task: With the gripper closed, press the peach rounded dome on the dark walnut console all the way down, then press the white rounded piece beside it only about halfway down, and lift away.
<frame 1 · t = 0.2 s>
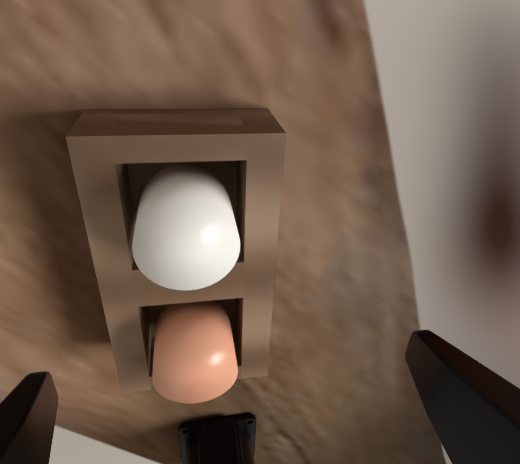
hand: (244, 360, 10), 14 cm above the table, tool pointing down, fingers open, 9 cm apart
white rounded piece: (186, 225, 18), point 5 cm above the table, slide at 0.0 cm
peach rounded dome: (194, 348, 22), point 5 cm above the table, slide at 0.0 cm
button console: (188, 242, 24), on the table
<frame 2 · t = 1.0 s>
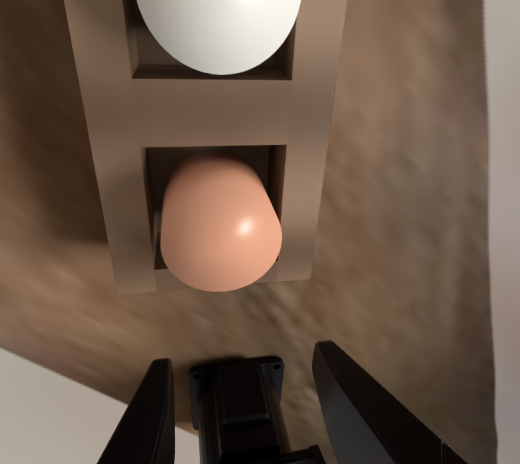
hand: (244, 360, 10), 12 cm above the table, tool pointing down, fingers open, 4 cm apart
peach rounded dome: (218, 218, 16), point 5 cm above the table, slide at 0.0 cm
button console: (207, 91, 18), on the table
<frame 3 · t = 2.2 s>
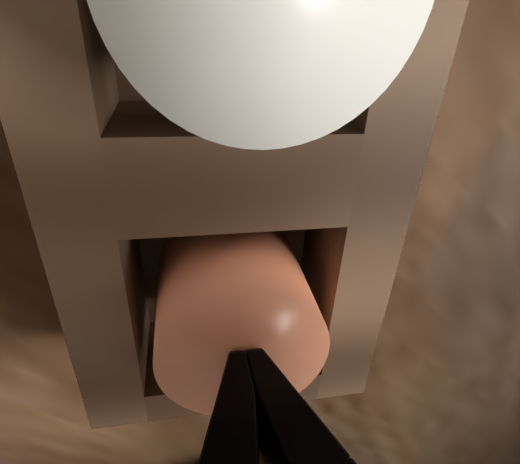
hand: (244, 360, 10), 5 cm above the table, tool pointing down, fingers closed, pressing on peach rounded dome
peach rounded dome: (234, 308, 11), point 4 cm above the table, slide at 1.2 cm, touching gripper
button console: (221, 134, 12), on the table
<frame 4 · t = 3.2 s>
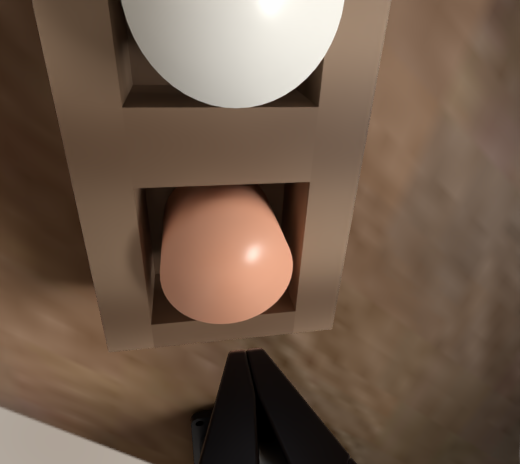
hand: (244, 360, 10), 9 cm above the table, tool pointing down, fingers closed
peach rounded dome: (222, 243, 15), point 3 cm above the table, slide at 1.6 cm
button console: (214, 114, 15), on the table
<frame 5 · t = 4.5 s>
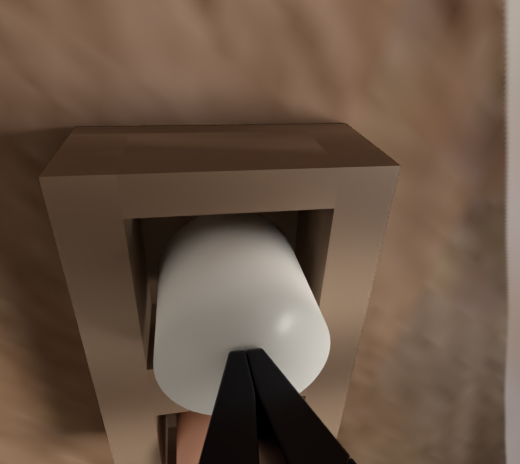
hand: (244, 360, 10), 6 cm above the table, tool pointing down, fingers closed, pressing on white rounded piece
white rounded piece: (235, 308, 11), point 5 cm above the table, slide at 0.1 cm, touching gripper
peach rounded dome: (229, 427, 17), point 3 cm above the table, slide at 1.6 cm
button console: (221, 307, 17), on the table
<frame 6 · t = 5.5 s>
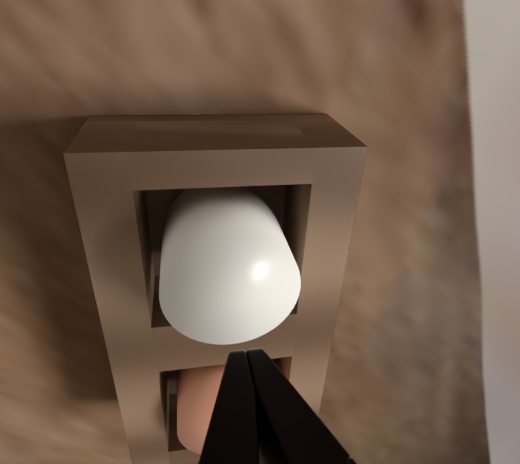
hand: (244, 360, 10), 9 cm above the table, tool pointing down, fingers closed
white rounded piece: (225, 258, 14), point 4 cm above the table, slide at 0.8 cm
peach rounded dome: (224, 389, 19), point 3 cm above the table, slide at 1.6 cm
button console: (217, 281, 19), on the table
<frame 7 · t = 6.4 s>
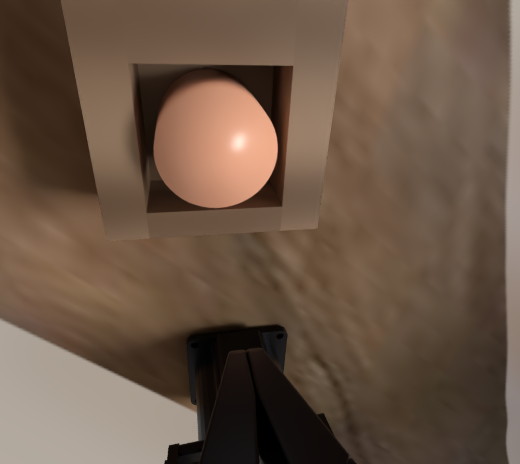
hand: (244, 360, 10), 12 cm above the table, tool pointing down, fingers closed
peach rounded dome: (213, 136, 16), point 3 cm above the table, slide at 1.6 cm
button console: (205, 16, 16), on the table
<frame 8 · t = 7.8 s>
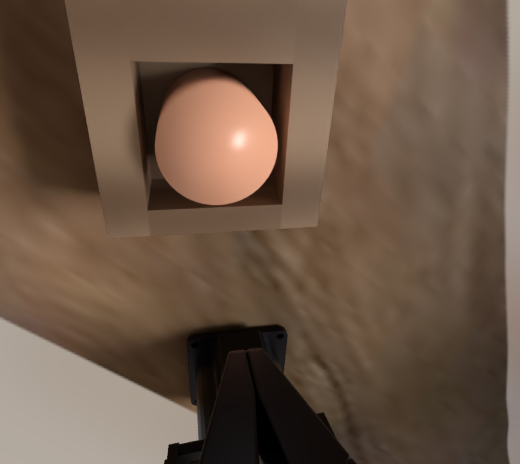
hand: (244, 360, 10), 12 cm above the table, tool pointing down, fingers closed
peach rounded dome: (213, 134, 16), point 3 cm above the table, slide at 1.6 cm
button console: (206, 16, 16), on the table
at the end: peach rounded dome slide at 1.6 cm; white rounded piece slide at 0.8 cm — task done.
